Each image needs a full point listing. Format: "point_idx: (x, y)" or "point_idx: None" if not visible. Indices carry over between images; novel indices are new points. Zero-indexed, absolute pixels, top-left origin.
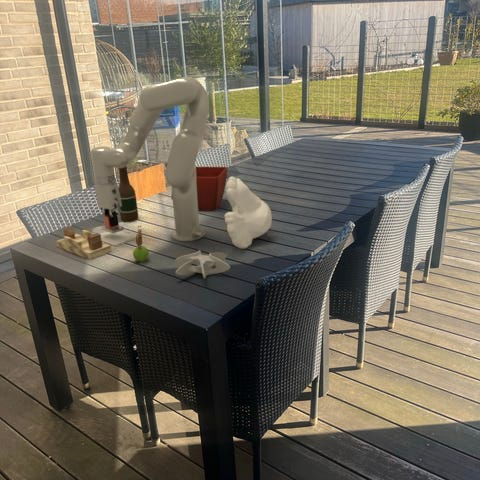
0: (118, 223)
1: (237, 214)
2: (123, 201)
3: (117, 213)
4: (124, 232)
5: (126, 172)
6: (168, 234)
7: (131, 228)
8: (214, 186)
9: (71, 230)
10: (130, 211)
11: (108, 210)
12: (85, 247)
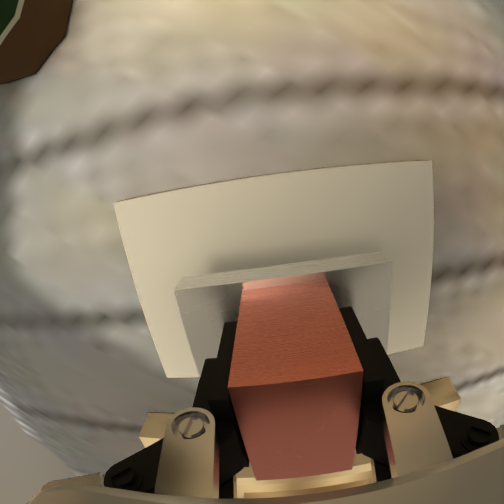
0: (331, 293)
1: None
2: None
3: (467, 424)
4: (264, 177)
5: None
6: (498, 17)
7: (190, 72)
8: None
9: None
10: (19, 3)
11: (205, 461)
12: (366, 471)
